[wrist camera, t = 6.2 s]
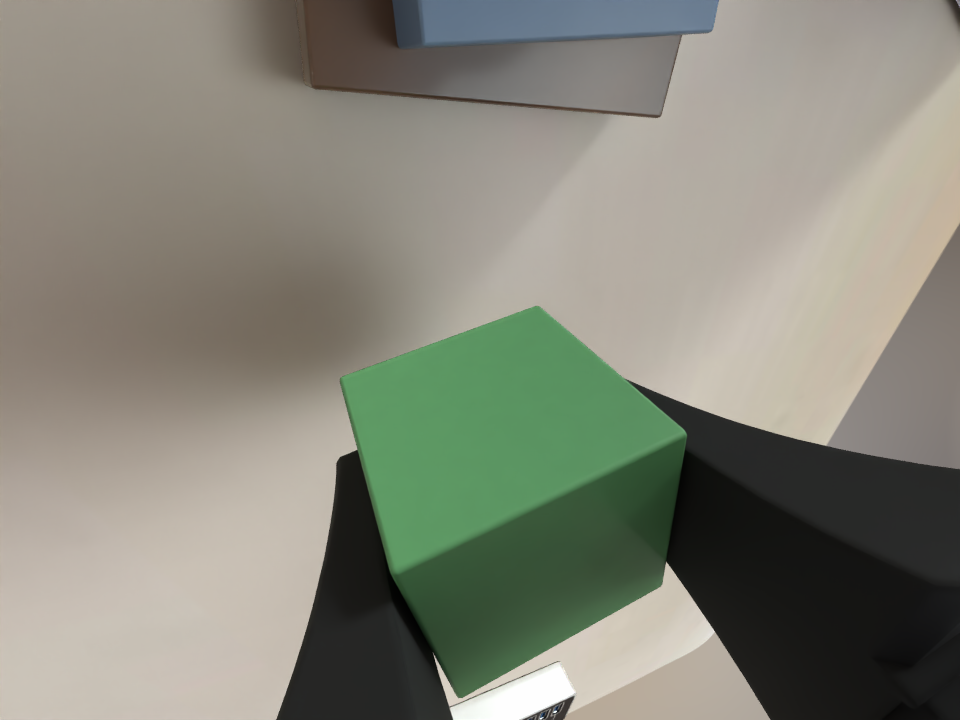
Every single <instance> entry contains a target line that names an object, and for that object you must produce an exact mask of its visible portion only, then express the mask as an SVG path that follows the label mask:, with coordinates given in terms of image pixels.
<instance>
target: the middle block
mask: <svg viewBox="0 0 960 720" xmlns="http://www.w3.org/2000/svg"><path fill="white" fill-rule="evenodd" d="M392 2H393V10H394V19H395V27H396V35H397V43H398V46H399V48H401V49H414V48H435V47H455V46H475V45H496V44H516V43H536V42H556V41H577V40H597V39H617V38H638V37H657V36H672V35H686V34H701V33H709V32H711V31H712V30H713V27H714V22H715V17H716V12H717V7H718V2H719V0H392Z"/></svg>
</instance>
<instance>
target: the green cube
mask: <svg viewBox="0 0 960 720" xmlns="http://www.w3.org/2000/svg"><path fill="white" fill-rule="evenodd" d="M340 385H341V388H342V392H343V396H344V400H345V404H346V407H347V411H348V415H349V419H350V423H351V426H352V430H353V434H354V438H355V441H356V445H357V449H358V453H359V457H360V460H361V464H362V468H363V472H364V476H365V479H366V483H367V487H368V491H369V495H370V498H371V502H372V506H373V510H374V514H375V517H376V521H377V525H378V529H379V533H380V536H381V540H382V544H383V548H384V551H385V555H386V559H387V563H388V567H389V570H390V573H391V575H392V577H393V579H394V581H395V583H396V585H397V586H398V588H399V590H400V592H401V594H402V596H403V598H404V599H405V601H406V603H407V605H408V607H409V609H410V611H411V612H412V614H413V616H414V618H415V620H416V622H417V623H418V625H419V627H420V629H421V631H422V633H423V635H424V636H425V638H426V640H427V642H428V644H429V646H430V648H431V649H432V651H433V653H434V655H435V657H436V659H437V661H438V662H439V664H440V666H441V668H442V670H443V672H444V674H445V675H446V677H447V679H448V681H449V683H450V685H451V687H452V688H453V690H454V692H455V694H456V695H457V697H458V698H463V697H465V696H466V695H468V694H470V693H472V692H474V691H475V690H477V689H479V688H481V687H482V686H484V685H486V684H488V683H490V682H491V681H493V680H495V679H497V678H498V677H500V676H502V675H504V674H506V673H507V672H509V671H511V670H513V669H515V668H516V667H518V666H520V665H522V664H523V663H525V662H527V661H529V660H531V659H532V658H534V657H536V656H538V655H539V654H541V653H543V652H545V651H547V650H548V649H550V648H552V647H554V646H556V645H557V644H559V643H561V642H563V641H564V640H566V639H568V638H570V637H572V636H573V635H575V634H577V633H579V632H580V631H582V630H584V629H586V628H588V627H589V626H591V625H593V624H595V623H596V622H598V621H600V620H602V619H604V618H605V617H607V616H609V615H611V614H613V613H614V612H616V611H618V610H620V609H621V608H623V607H625V606H627V605H629V604H630V603H632V602H634V601H636V600H637V599H639V598H641V597H643V596H645V595H646V594H648V593H650V592H652V591H654V590H655V589H657V588H659V587H661V585H662V582H663V576H664V570H665V564H666V558H667V553H668V547H669V541H670V535H671V529H672V523H673V517H674V511H675V505H676V499H677V493H678V487H679V481H680V475H681V469H682V463H683V457H684V451H685V445H686V439H687V434H686V432H685V430H684V429H683V428H681V427H680V426H679V425H678V424H677V423H676V422H674V421H673V420H672V419H671V418H670V417H669V416H667V415H666V414H665V413H664V412H663V411H662V410H660V409H659V408H658V407H657V406H656V405H654V404H653V403H652V402H651V401H650V400H649V399H647V398H646V397H645V396H644V395H643V394H642V393H640V392H639V391H638V390H637V389H636V388H635V387H633V386H632V385H631V384H630V383H629V382H628V381H626V380H625V379H624V378H623V377H622V376H620V375H619V374H618V373H617V372H616V371H615V370H613V369H612V368H611V367H610V366H609V365H608V364H606V363H605V362H604V361H603V360H602V359H601V358H599V357H598V356H597V355H596V354H595V353H594V352H592V351H591V350H590V349H589V348H588V347H586V346H585V345H584V344H583V343H582V342H581V341H579V340H578V339H577V338H576V337H575V336H574V335H572V334H571V333H570V332H569V331H568V330H567V329H565V328H564V327H563V326H562V325H561V324H559V323H558V322H557V321H556V320H555V319H554V318H552V317H551V316H550V315H549V314H548V313H547V312H545V311H544V310H543V309H542V308H541V307H540V306H534V307H532V308H529V309H526V310H523V311H521V312H518V313H515V314H512V315H510V316H507V317H504V318H501V319H499V320H496V321H493V322H490V323H488V324H485V325H482V326H479V327H477V328H474V329H471V330H469V331H466V332H463V333H460V334H458V335H455V336H452V337H449V338H447V339H444V340H441V341H438V342H436V343H433V344H430V345H427V346H425V347H422V348H419V349H416V350H414V351H411V352H408V353H405V354H403V355H400V356H397V357H394V358H392V359H389V360H386V361H384V362H381V363H378V364H375V365H373V366H370V367H367V368H364V369H362V370H359V371H356V372H353V373H351V374H348V375H345V376H343V377H341V378H340Z"/></svg>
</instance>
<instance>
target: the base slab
mask: <svg viewBox="0 0 960 720" xmlns="http://www.w3.org/2000/svg"><path fill="white" fill-rule="evenodd" d="M296 8H297V18H298V28H299V38H300V48H301V58H302V68H303V78H304V83H305V85H307V86H309V87H311V88H314V89H318V90H330V91H342V92H354V93H365V94H377V95H389V96H401V97H413V98H425V99H437V100H448V101H460V102H472V103H484V104H496V105H508V106H519V107H531V108H543V109H555V110H567V111H579V112H590V113H602V114H614V115H626V116H638V117H650V118H658V117H660V116H661V114H662V111H663V107H664V103H665V99H666V95H667V91H668V87H669V83H670V80H671V76H672V72H673V68H674V64H675V60H676V56H677V52H678V49H679V45H680V41H681V37H682V35H672V36H657V37H638V38H617V39H597V40H577V41H556V42H536V43H516V44H496V45H475V46H455V47H435V48H414V49H401V48H399V46H398V43H397V35H396V27H395V19H394V10H393V2H392V0H296Z"/></svg>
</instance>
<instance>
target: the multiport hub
mask: <svg viewBox="0 0 960 720" xmlns="http://www.w3.org/2000/svg"><path fill="white" fill-rule="evenodd" d="M575 696H576V691H575V689H574V687H573V685H572V683H571V682H570V680H569V678H568V676H567V674H566V672H565V670H564V668H563V666H562V664H561V662H557V663H554V664H552V665H549V666H547V667H545V668H542V669H540V670H538V671H535V672H533V673H531V674H528V675H526V676H524V677H521V678H519V679H517V680H514V681H512V682H509V683H507V684H505V685H502V686H500V687H498V688H495V689H493V690H491V691H488V692H486V693H484V694H481V695H479V696H477V697H474V698H472V699H469V700H467V701H465V702H462V703H460V704H458V705H455V706H453V707H451V708H450V711H451V714H452V717H453V720H564V719H565V717H566V715H567V713H568V711H569V709H570V707H571V705H572V703H573V700H574V698H575Z"/></svg>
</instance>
